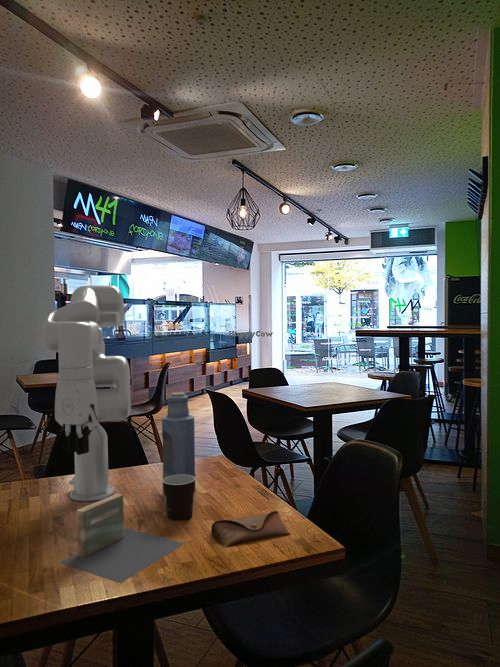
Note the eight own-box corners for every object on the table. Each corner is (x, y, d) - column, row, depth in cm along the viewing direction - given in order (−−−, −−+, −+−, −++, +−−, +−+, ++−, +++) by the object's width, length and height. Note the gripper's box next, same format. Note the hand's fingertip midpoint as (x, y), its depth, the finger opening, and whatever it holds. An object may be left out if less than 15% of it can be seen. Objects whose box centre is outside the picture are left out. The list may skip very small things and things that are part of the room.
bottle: (157, 491, 153) (154, 393, 152) (185, 484, 159) (183, 389, 158) (172, 500, 145) (170, 396, 144) (201, 492, 151) (199, 393, 150)
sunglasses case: (223, 548, 113) (217, 518, 116) (214, 553, 119) (209, 524, 122) (293, 534, 120) (286, 505, 123) (282, 538, 126) (276, 511, 129)
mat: (59, 563, 108) (59, 562, 108) (127, 529, 125) (127, 528, 125) (120, 585, 98) (120, 583, 98) (184, 545, 116) (184, 543, 116)
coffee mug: (190, 524, 127) (189, 485, 127) (158, 522, 129) (157, 483, 129) (203, 507, 139) (202, 471, 138) (173, 506, 140) (173, 470, 140)
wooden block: (77, 555, 111) (76, 510, 110) (118, 535, 121) (117, 493, 121) (85, 557, 109) (84, 512, 109) (125, 537, 120) (124, 495, 119)
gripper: (40, 375, 119) (42, 452, 119) (87, 377, 111) (89, 461, 111) (66, 372, 125) (68, 445, 126) (112, 374, 117) (114, 453, 117)
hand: (78, 452), depth 118 cm, fingers closed
